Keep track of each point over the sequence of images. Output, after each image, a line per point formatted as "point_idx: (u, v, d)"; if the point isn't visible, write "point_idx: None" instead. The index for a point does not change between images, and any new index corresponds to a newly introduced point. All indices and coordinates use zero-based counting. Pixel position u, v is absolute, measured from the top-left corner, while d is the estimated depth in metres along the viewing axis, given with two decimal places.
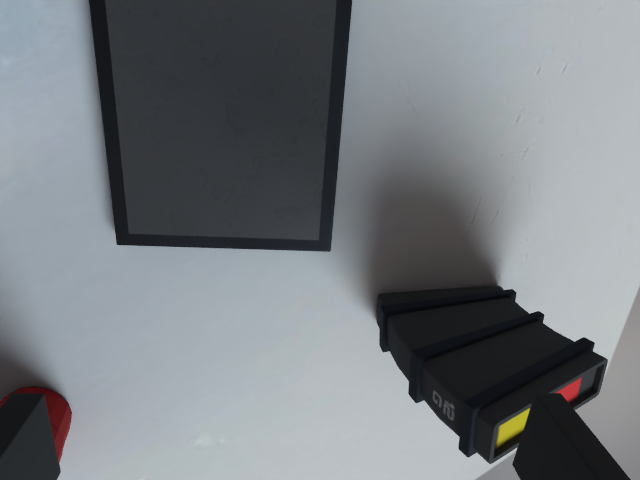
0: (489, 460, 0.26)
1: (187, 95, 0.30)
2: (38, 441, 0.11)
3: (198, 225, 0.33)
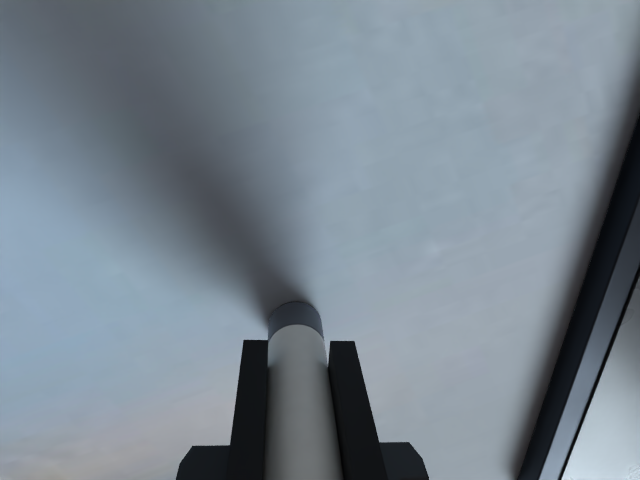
0: None
1: None
2: None
3: None
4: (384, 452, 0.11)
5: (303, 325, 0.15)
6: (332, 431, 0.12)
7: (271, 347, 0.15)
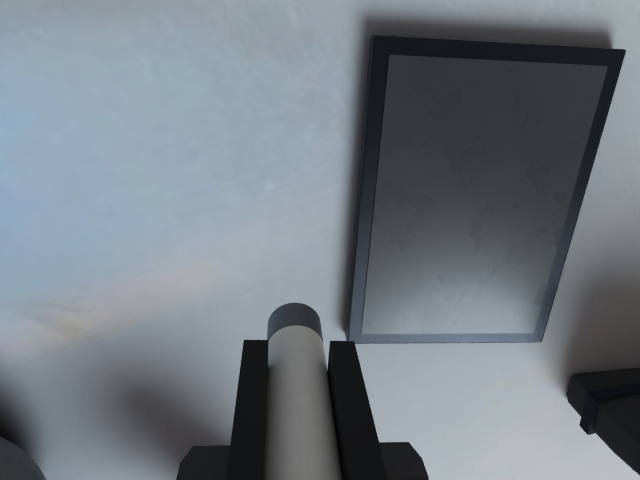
0: None
1: (438, 212, 0.32)
2: None
3: (425, 324, 0.35)
4: (384, 452, 0.11)
5: (302, 326, 0.15)
6: (331, 432, 0.12)
7: (270, 348, 0.15)
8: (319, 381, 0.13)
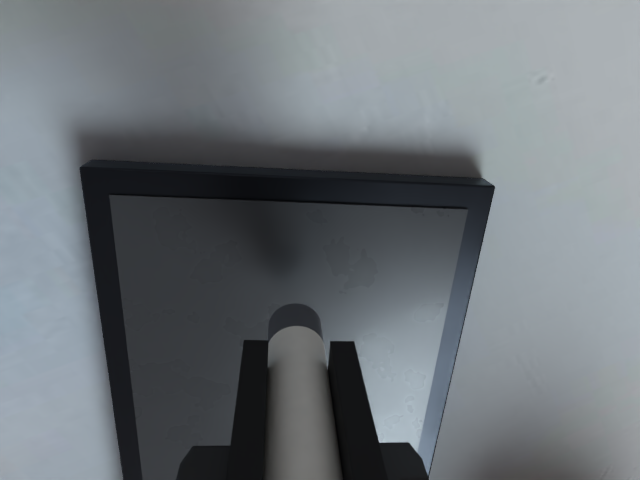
0: None
1: (235, 400, 0.21)
2: None
3: None
4: (384, 452, 0.11)
5: (303, 326, 0.15)
6: (332, 433, 0.12)
7: (271, 348, 0.15)
8: (320, 382, 0.13)
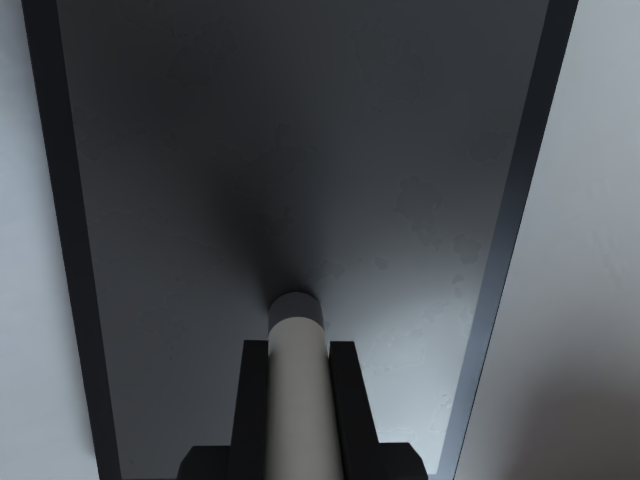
0: None
1: (229, 275, 0.16)
2: None
3: None
4: (384, 452, 0.11)
5: (304, 317, 0.15)
6: (333, 432, 0.11)
7: (271, 340, 0.15)
8: (321, 377, 0.13)
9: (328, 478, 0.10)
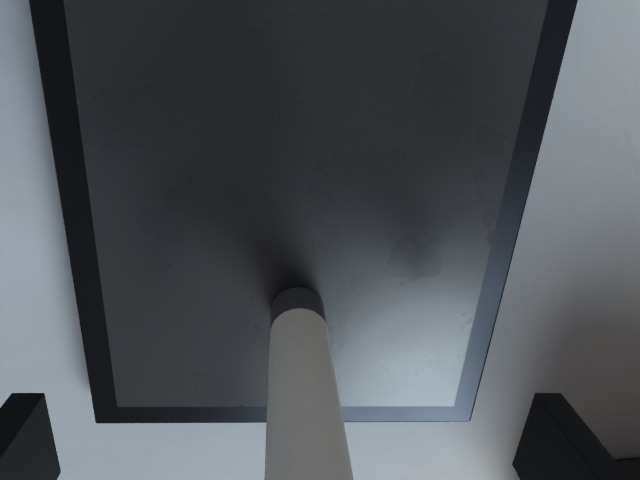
0: None
1: (232, 167, 0.15)
2: (38, 441, 0.11)
3: (244, 389, 0.18)
4: None
5: (306, 309, 0.15)
6: (337, 410, 0.11)
7: (274, 330, 0.15)
8: (324, 361, 0.13)
9: (333, 448, 0.10)
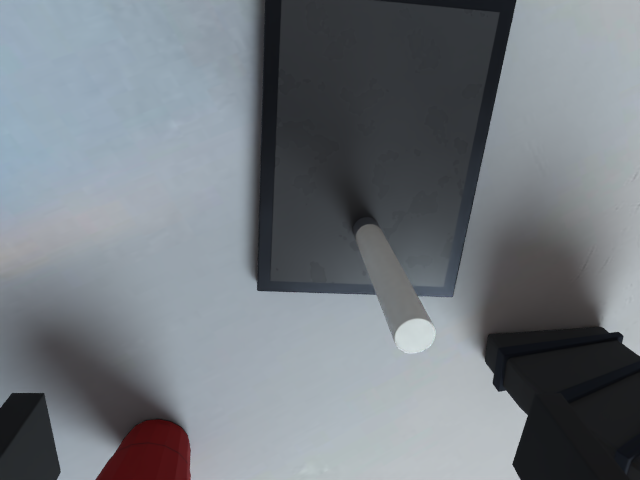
0: None
1: (340, 157, 0.32)
2: (38, 441, 0.11)
3: (335, 273, 0.36)
4: None
5: (373, 224, 0.32)
6: None
7: (359, 233, 0.32)
8: (386, 240, 0.30)
9: (395, 259, 0.27)
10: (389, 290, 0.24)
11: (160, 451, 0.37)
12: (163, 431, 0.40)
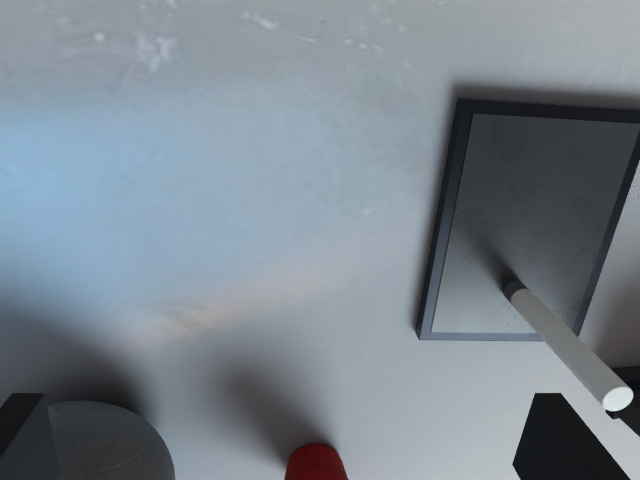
0: None
1: (501, 235, 0.39)
2: (38, 441, 0.11)
3: (483, 325, 0.43)
4: None
5: (526, 289, 0.40)
6: (559, 319, 0.36)
7: (517, 297, 0.39)
8: (546, 306, 0.37)
9: (567, 327, 0.34)
10: (582, 359, 0.31)
11: (332, 472, 0.45)
12: (326, 454, 0.47)
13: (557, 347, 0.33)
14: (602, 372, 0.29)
